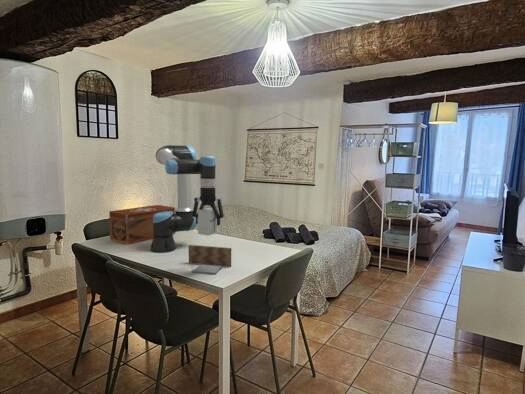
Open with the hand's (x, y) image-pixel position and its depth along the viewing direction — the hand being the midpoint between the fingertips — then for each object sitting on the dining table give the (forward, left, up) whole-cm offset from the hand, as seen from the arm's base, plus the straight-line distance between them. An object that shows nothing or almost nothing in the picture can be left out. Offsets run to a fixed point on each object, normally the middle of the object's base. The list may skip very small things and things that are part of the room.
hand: (208, 230), depth 168 cm
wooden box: (-69, +54, -21) cm, 90 cm away
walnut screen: (-2, +8, -21) cm, 22 cm away
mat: (0, -1, -21) cm, 21 cm away
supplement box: (0, 0, -2) cm, 2 cm away
